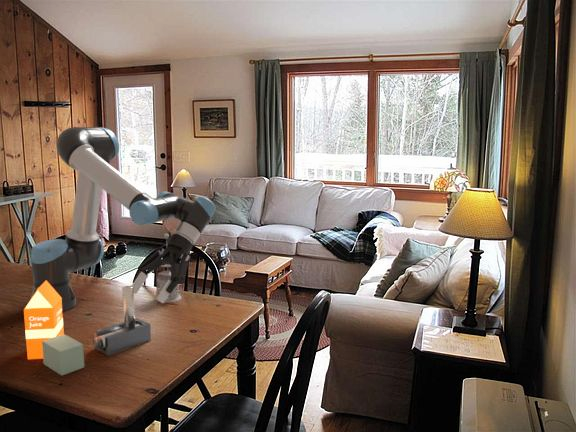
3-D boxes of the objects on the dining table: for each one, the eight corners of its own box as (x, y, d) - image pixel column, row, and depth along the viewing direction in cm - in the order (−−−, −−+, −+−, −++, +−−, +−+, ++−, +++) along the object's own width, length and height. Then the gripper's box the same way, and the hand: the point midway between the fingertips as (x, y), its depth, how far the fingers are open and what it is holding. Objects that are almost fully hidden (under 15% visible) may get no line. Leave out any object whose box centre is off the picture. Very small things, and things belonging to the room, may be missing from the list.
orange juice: (27, 359, 140) (21, 290, 136) (37, 346, 148) (32, 280, 145) (57, 357, 141) (52, 288, 137) (65, 344, 149) (60, 279, 146)
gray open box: (136, 333, 158) (136, 318, 157) (150, 340, 153) (150, 323, 152) (94, 348, 147) (93, 331, 146) (108, 355, 142) (107, 338, 141)
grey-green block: (65, 356, 142) (64, 334, 141) (84, 367, 135) (82, 344, 134) (43, 364, 137) (41, 341, 136) (61, 375, 131) (60, 351, 130)
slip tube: (135, 333, 155) (133, 283, 152) (142, 336, 153) (140, 286, 150) (93, 348, 144) (90, 295, 142) (99, 351, 142) (97, 297, 139)
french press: (182, 293, 197) (180, 230, 193) (180, 303, 185) (179, 237, 181) (156, 294, 195) (153, 231, 191) (153, 304, 184) (150, 237, 180)
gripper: (216, 252, 157) (179, 311, 148) (165, 240, 172) (129, 293, 163) (203, 238, 152) (164, 298, 143) (152, 227, 167) (114, 281, 158)
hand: (145, 296), depth 153 cm, fingers open, 13 cm apart
